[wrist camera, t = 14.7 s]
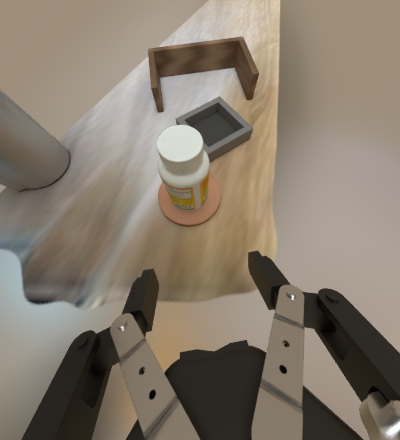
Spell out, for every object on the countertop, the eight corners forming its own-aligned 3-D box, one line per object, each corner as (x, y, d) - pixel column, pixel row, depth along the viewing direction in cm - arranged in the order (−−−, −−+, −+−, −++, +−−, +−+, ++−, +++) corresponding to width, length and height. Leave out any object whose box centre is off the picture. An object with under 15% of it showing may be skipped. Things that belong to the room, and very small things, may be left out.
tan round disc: (180, 238, 21) (179, 236, 20) (149, 190, 24) (147, 187, 23) (232, 204, 23) (233, 201, 22) (198, 162, 25) (197, 158, 24)
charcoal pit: (206, 163, 25) (206, 154, 23) (177, 129, 28) (175, 118, 26) (249, 138, 27) (253, 128, 25) (218, 107, 29) (219, 96, 27)
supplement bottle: (181, 219, 21) (163, 179, 12) (164, 188, 23) (137, 134, 14) (215, 200, 22) (222, 151, 13) (196, 172, 23) (191, 110, 14)
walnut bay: (158, 112, 29) (151, 88, 25) (154, 74, 33) (147, 48, 29) (252, 99, 30) (259, 73, 26) (238, 63, 33) (242, 36, 29)
